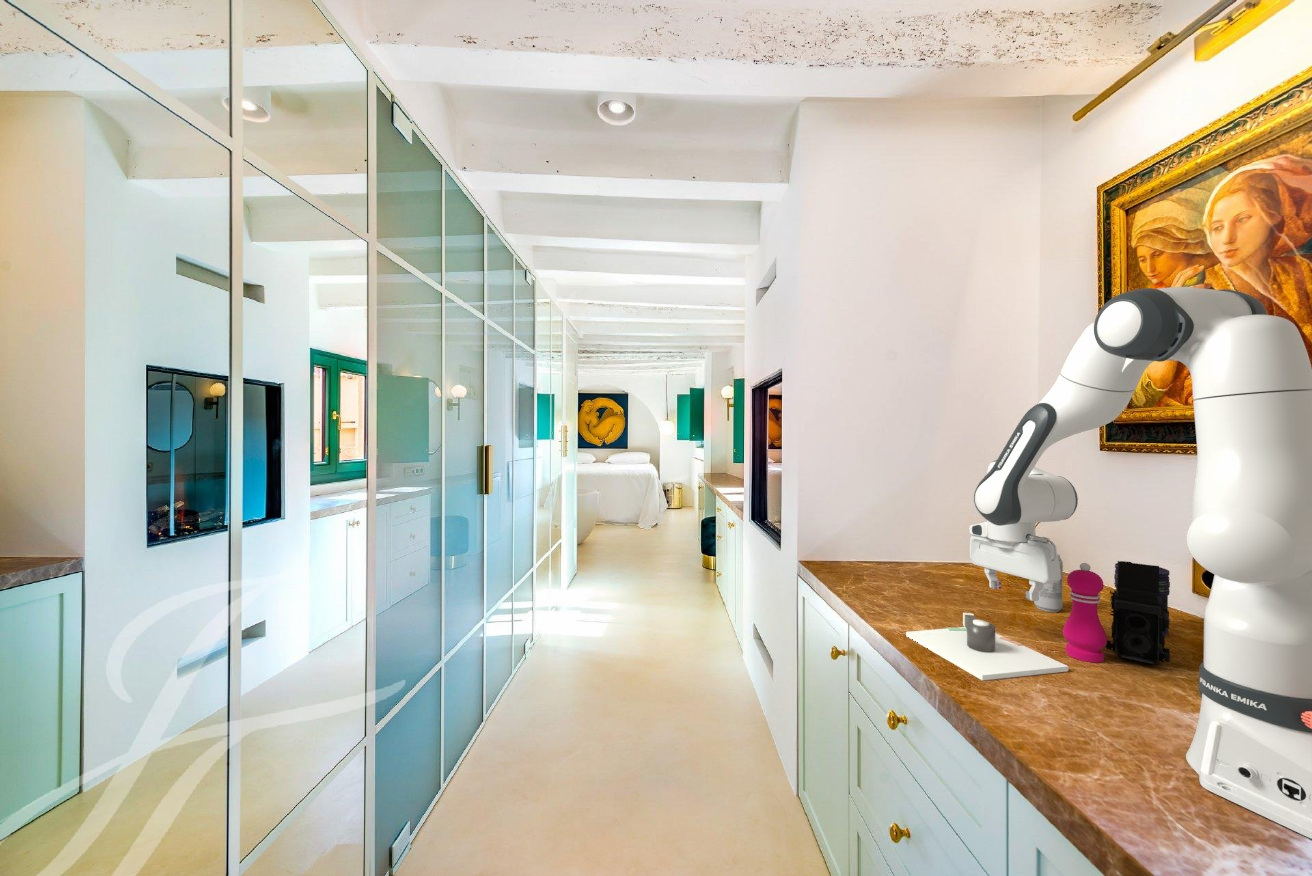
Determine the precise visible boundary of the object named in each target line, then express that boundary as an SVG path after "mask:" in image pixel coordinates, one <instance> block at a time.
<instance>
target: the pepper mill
mask: <svg viewBox="0 0 1312 876" xmlns="http://www.w3.org/2000/svg"><path fill="white" fill-rule="evenodd" d="M1091 569H1092V568H1091V565H1090V564H1089V563H1087V562H1082V563H1080V564H1079V569H1075V570H1072V571H1071V572H1069V573H1068V575H1067V578H1066V583H1067V586H1068V587H1069V588H1070V591H1069V593H1070V595H1069V598H1070V599H1071V601H1072V605H1071V607H1072V608H1071V612H1070V613H1069V616H1068V618H1067V619H1066V620H1065V623H1064V625H1063V628H1062V636H1063V637H1064V639H1065V640H1066V641H1067V643H1066V644H1065V653H1066V655H1067V656H1069V657H1070V658H1073V659H1076V660H1079V661H1080V662H1081V661H1082V662H1086V663H1093V664H1094V663H1096V664H1097V663H1103V662H1104V661H1105V660H1104V658H1105V657H1104V655H1105V652H1104V651H1103V650H1102V649H1103V648H1104V647H1106V644H1107V640H1108V639H1107V638H1108V636H1107V633H1106V631H1105V628H1104V627H1103V625H1102V623H1101V621H1100V618H1099V614H1098V604H1099V603H1101V600H1100V599H1101V595H1100V594H1099V593H1101V592H1102V591H1103V590H1104V585H1105V584H1104V581H1103V578H1102V577H1101V576H1100V575H1099V574H1098V573H1096V572H1094V571H1092V570H1091Z"/></svg>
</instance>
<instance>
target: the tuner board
mask: <svg viewBox="0 0 1312 876" xmlns="http://www.w3.org/2000/svg"><path fill="white" fill-rule="evenodd" d="M905 636H906V637H907V638H908V637H909V638H908V639H910V640H912V639H913V640H912V641H913V642H915V641H916V642H915V643H917V642H918V643H917V644H919V645H920V646H923V647H924V648H926V649H927V648H928V650H929V651H931V652H933V653H934V654H936V655H938V656H940V657H941V658H943V659H945V660H946V661H947V662H950V663H952V664H954V665H955V666H957V667H959V668H960V669H962V670H964V671H965V672H967V673H968V674H970V675H972V676H974V677H976V678H977V679H979V680H980V681H992V680H1001V679H1009V678H1010V679H1011V678H1017V677H1018V678H1020V677H1028V676H1029V677H1030V676H1037V675H1045V674H1047V675H1048V674H1056V673H1064V672H1066V673H1067V672H1069V666H1068V665H1067V664H1064V663H1062V662H1060V661H1058V660H1056V659H1053V658H1052V657H1049V656H1047V655H1045V654H1043V653H1041V652H1038V651H1036V650H1034V649H1031V648H1030V647H1027V646H1025V645H1024V643H1021V642H1019V641H1016V640H1014V639H1011V638H1008V637H1005V636H1003V635H1000V634H999V633H997V632H995V651H993V652H983V651H978V650H975V649H972V648H970V647H968V646H967V629H966V627H964V626H961V627H946V628H935V629H925V630H924V629H923V630H914V631H912V630H911V631H906V632H905Z"/></svg>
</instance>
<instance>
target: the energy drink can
mask: <svg viewBox="0 0 1312 876" xmlns="http://www.w3.org/2000/svg"><path fill="white" fill-rule="evenodd" d="M1057 555H1058V559H1059V564H1060V570H1061V579H1060V581H1059V582H1058V583H1052V584H1044V586H1043V587H1042V589H1041V591H1040V592H1039V600H1038V601H1033V603H1034V605H1035V606H1036V608H1037V609H1038V610H1041V611H1043V612H1048V613H1060V610H1062V609H1063V583H1064V581H1063V579H1064V578H1063V571H1064V570H1063V560H1062V558H1061V556H1060V554H1059V553H1057Z"/></svg>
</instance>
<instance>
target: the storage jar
mask: <svg viewBox="0 0 1312 876" xmlns="http://www.w3.org/2000/svg"><path fill="white" fill-rule="evenodd" d="M1136 564H1138V563H1136ZM1143 564H1144V563H1143ZM1144 565H1146V564H1144ZM1114 568H1115V569H1114V574H1113V575H1114V582H1113V584H1114V587H1115V590H1116V591H1117V571H1118V562H1116V563H1115V564H1114ZM1170 588H1171V582H1170V570H1169V569H1167V568H1164V567H1161V566H1159V597H1162V600H1163V599H1164V600H1165V599H1166V600H1167V602H1165V605H1166V608H1165V607H1164V606H1165V605H1163V609H1167V614H1166V615H1165V614H1163V615H1164V616H1165V619H1168V620H1169V625H1170V620H1171V619H1170V611H1169V608H1168V607H1169V602H1168V600H1169V597H1168V596H1169V595H1170V592H1171V591H1170ZM1163 633H1164V636H1165V637H1168V636H1169V635H1170V633H1169V629H1168V628H1165V631H1163Z"/></svg>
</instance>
